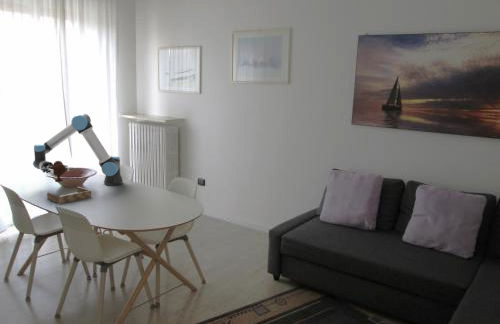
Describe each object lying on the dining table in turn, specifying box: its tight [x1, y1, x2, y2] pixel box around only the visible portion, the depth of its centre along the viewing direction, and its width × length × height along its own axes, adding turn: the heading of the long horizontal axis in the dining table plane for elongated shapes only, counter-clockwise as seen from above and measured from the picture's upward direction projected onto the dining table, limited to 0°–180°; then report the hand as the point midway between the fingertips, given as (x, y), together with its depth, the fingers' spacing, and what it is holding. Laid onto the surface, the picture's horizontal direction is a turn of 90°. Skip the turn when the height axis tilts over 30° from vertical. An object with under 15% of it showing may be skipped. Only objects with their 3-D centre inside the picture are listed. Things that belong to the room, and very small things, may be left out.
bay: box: [46, 186, 92, 205], centre depth 299 cm, size 24×17×5 cm
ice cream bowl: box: [51, 160, 67, 183], centre depth 302 cm, size 11×11×15 cm
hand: (60, 170), depth 300 cm, fingers closed on ice cream bowl, 11 cm apart
